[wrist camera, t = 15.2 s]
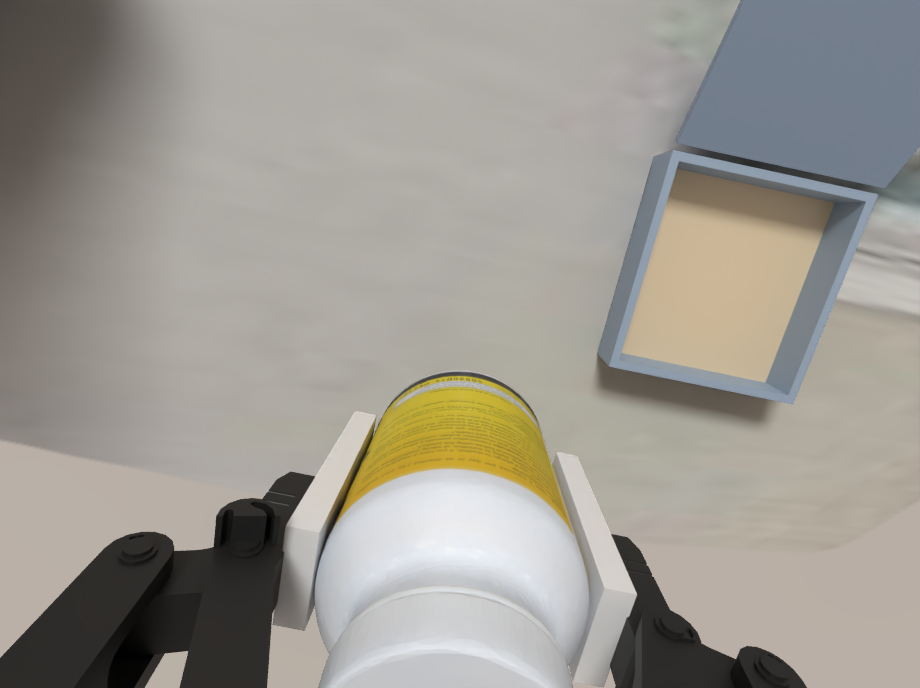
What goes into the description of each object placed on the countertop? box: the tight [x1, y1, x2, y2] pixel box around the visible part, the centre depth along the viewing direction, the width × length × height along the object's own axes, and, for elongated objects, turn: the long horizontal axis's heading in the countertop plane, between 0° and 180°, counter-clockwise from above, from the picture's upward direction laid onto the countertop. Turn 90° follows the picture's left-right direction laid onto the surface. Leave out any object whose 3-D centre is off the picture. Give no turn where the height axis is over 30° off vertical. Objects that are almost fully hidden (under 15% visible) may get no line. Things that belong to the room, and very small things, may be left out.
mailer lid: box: [675, 0, 920, 189], centre depth 22 cm, size 12×14×2 cm
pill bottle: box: [315, 370, 589, 688], centre depth 14 cm, size 6×6×12 cm
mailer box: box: [597, 150, 878, 404], centre depth 31 cm, size 12×13×3 cm
